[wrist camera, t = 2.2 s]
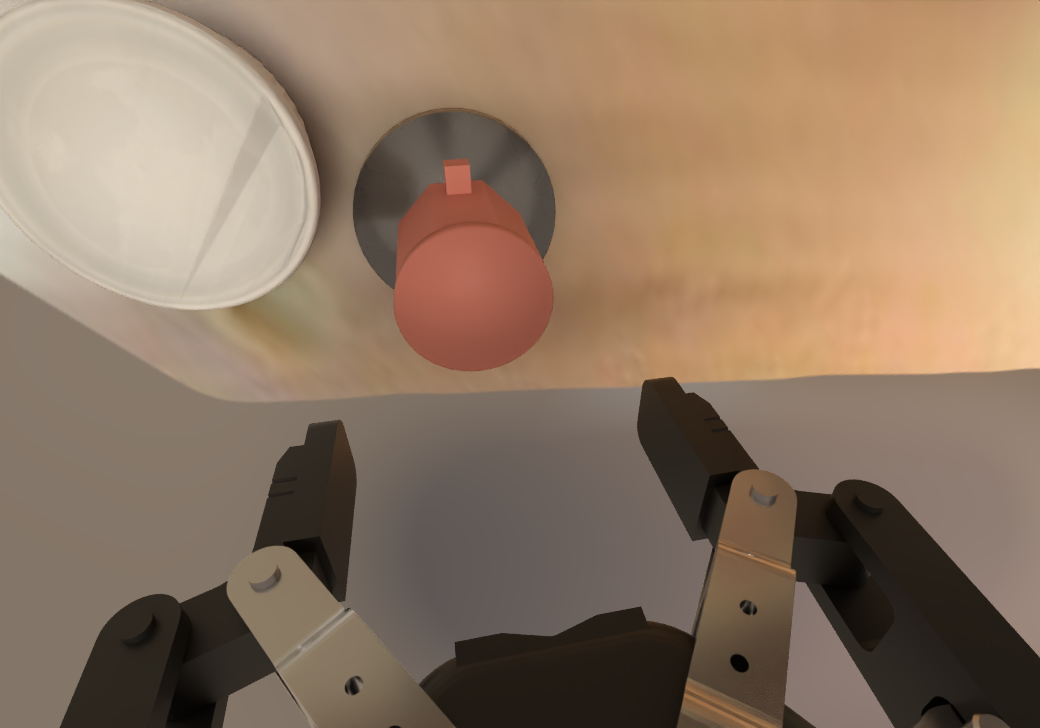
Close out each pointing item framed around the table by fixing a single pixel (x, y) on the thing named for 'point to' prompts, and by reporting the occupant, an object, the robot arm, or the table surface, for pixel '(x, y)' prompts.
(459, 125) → the grey lamp
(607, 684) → the robot arm
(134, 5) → the ramekin
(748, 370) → the table surface
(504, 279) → the cap
